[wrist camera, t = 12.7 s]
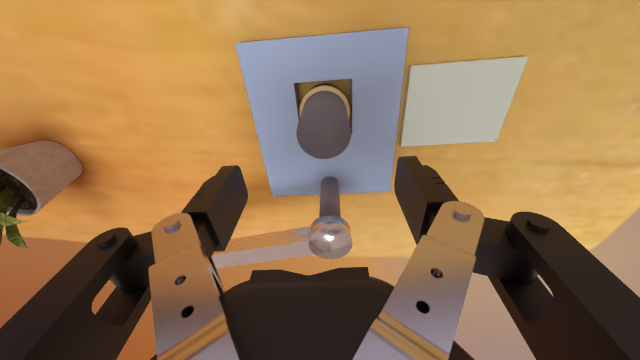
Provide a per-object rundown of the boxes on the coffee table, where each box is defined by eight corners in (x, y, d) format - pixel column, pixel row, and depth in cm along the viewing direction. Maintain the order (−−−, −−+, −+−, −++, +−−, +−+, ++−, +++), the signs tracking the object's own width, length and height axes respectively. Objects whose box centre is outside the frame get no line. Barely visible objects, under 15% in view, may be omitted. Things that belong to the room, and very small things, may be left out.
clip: (181, 240, 22) (171, 254, 20) (346, 212, 19) (347, 226, 18) (201, 263, 24) (193, 277, 22) (353, 241, 21) (355, 255, 20)
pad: (523, 55, 20) (528, 56, 20) (493, 138, 25) (496, 141, 24) (409, 65, 21) (411, 66, 21) (399, 144, 26) (400, 146, 25)
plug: (347, 78, 22) (355, 100, 15) (347, 124, 24) (355, 160, 18) (299, 81, 22) (287, 105, 16) (305, 127, 25) (296, 164, 18)
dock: (402, 27, 20) (445, 27, 12) (386, 181, 28) (406, 234, 21) (242, 41, 20) (195, 50, 13) (275, 187, 29) (258, 239, 22)
